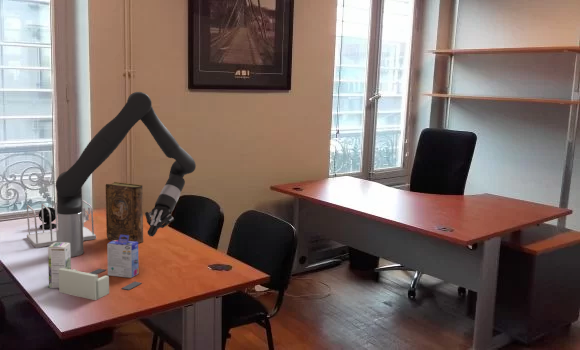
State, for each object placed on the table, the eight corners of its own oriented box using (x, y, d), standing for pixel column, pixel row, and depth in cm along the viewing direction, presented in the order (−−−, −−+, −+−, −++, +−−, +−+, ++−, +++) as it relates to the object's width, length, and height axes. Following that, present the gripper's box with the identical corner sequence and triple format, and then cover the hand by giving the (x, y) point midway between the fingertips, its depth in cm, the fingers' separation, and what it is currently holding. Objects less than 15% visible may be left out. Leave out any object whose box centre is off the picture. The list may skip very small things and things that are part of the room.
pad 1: (85, 275, 200) (85, 274, 200) (99, 269, 206) (99, 268, 206) (92, 276, 198) (92, 275, 198) (105, 270, 205) (105, 269, 205)
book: (145, 241, 243) (144, 185, 239) (137, 244, 238) (136, 187, 234) (115, 236, 249) (113, 181, 245) (106, 239, 244) (105, 183, 240)
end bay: (59, 292, 183) (58, 269, 182) (74, 285, 189) (73, 263, 188) (95, 300, 177) (94, 276, 176) (109, 293, 183) (108, 270, 182)
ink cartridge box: (139, 273, 203) (139, 235, 201) (132, 278, 198) (131, 239, 195) (114, 270, 205) (113, 233, 202) (107, 275, 200) (106, 237, 197)
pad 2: (121, 288, 188) (121, 288, 188) (134, 282, 194) (134, 281, 194) (128, 290, 186) (128, 289, 186) (141, 283, 193) (141, 282, 193)
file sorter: (85, 230, 257) (84, 197, 255) (96, 239, 243) (95, 205, 241) (26, 238, 243) (24, 203, 240) (35, 248, 229) (33, 211, 226)
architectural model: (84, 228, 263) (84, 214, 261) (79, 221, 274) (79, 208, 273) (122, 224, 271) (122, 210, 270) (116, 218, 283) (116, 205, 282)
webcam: (40, 230, 255) (39, 209, 253) (38, 226, 261) (37, 206, 260) (58, 228, 259) (57, 207, 257) (56, 225, 265) (55, 204, 264)
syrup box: (54, 282, 192) (52, 242, 189) (72, 282, 192) (70, 242, 190) (48, 288, 186) (46, 246, 184) (66, 288, 187) (65, 246, 184)
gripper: (150, 191, 223) (131, 228, 214) (178, 194, 218) (160, 232, 209) (158, 202, 229) (140, 238, 220) (185, 205, 224) (168, 242, 215)
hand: (150, 235), depth 214 cm, fingers closed
